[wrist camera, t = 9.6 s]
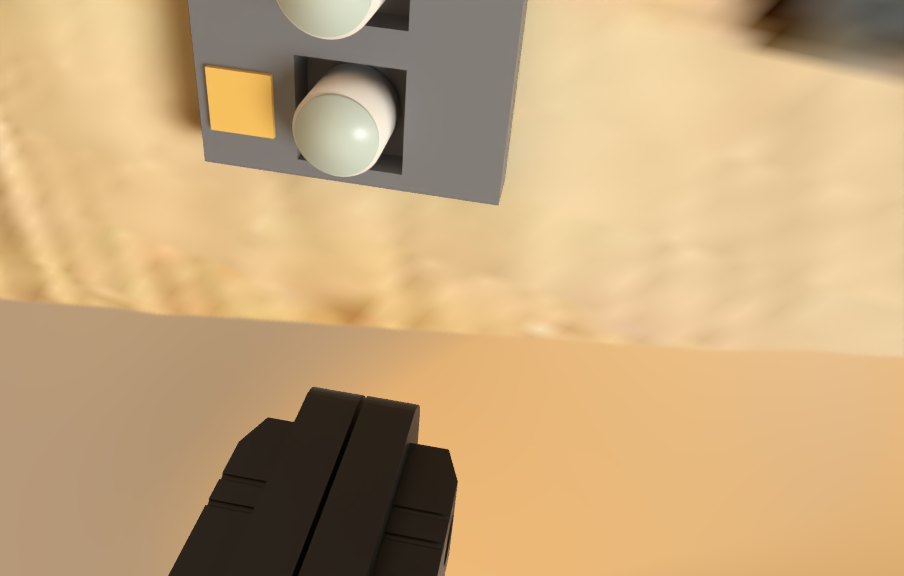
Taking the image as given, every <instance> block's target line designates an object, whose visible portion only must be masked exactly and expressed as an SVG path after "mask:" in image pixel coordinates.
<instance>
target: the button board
mask: <svg viewBox="0 0 904 576" xmlns="http://www.w3.org/2000/svg"><path fill="white" fill-rule="evenodd" d="M188 7H189V17H190V26H191V35H192V44H193V54H194V63H195V72H196V81H197V91H198V100H199V109H200V118H201V128H202V137H203V146H204V156H205V161H207V162H214V163H220V164H227V165H233V166H240V167H247V168H253V169H260V170H267V171H273V172H280V173H286V174H293V175H300V176H306V177H313V178H320V179H326V180H333V181H339V182H346V183H353V184H359V185H366V186H373V187H379V188H386V189H392V190H399V191H406V192H412V193H419V194H426V195H432V196H439V197H446V198H452V199H459V200H465V201H472V202H479V203H485V204H492V205H499V201H500V197H501V193H502V189H503V185H504V181H505V173H506V165H507V157H508V150H509V142H510V134H511V126H512V118H513V110H514V102H515V95H516V87H517V79H518V71H519V63H520V55H521V47H522V40H523V32H524V24H525V16H526V8H527V0H385V1H384V3H383V4H382V5H381V6H380V8H379V9H378V10H377V11H376V12H375V14H374V15H373V16H372V17H371V18H370V20H369V21H368V22H367V23H366V24H365V25H364V26H363V27H362V28H361V29H360V30H359V31H357V32H356V33H354V34H352V35H351V36H348V37H345V38H341V39H334V40H329V39H321V38H317V37H314V36H311V35H309V34H307V33H305V32H303V31H302V30H300V29H299V28H297V27H296V26H295V25H294V24H293V23H292V22H291V21H290V20H289V19H288V18H287V17H286V16H285V15H284V13H283V12H282V10H281V9H280V7H279V5H278V3H277V1H276V0H188ZM345 63H357V64H364V65H367V66H369V67H371V68H374V69H375V70H377V71H379V72H380V73H381V74H382V75H384V76H385V77H386V78H387V79H388V80H389V82H390V83H391V84H392V86H393V88H394V89H395V91H396V94H397V96H398V100H399V105H400V114H399V119H398V123H397V125H396V127H395V129H394V131H393V133H392V135H391V136H390V138H389V140H388V142H387V144H386V145H385V147H384V149H383V151H382V153H381V155H380V156H379V158H378V160H377V161H376V163H375V164H374V165H373V166H372V167H371V168H370V169H368V170H367V171H365V172H363V173H361V174H359V175H355V176H350V177H340V176H334V175H330V174H327V173H325V172H323V171H320V170H319V169H317V168H316V167H314V166H313V165H312V164H310V163H309V162H308V161H307V160H306V159H305V158H304V156H303V155H302V154H301V152H300V151H299V149H298V147H297V145H296V143H295V140H294V136H293V130H292V122H293V117H294V114H295V111H296V109H297V107H298V106H299V104H300V103H301V102H302V101H303V99H304V98H305V97H306V96H307V94H308V93H309V92H310V91H311V90H312V88H313V87H314V86H315V85H316V84H317V82H318V81H319V80H320V79H321V78H322V76H323V75H324V74H325V73H326V72H327V71H329V70H330V69H331V68H333V67H335V66H338V65H340V64H345Z"/></svg>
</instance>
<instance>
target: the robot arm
mask: <svg viewBox="0 0 904 576" xmlns="http://www.w3.org/2000/svg"><path fill="white" fill-rule="evenodd" d="M419 417H420V406H419V405H416V404H410V403H404V402H399V401H393V400H388V399H382V398H376V397H370V396H367V398H365V396H363V395H358V394H352V393H346V392H340V391H334V390H329V389H323V388H317V387H312V388H311V389H310V391H309V392H308V394H307V396H306V398H305V400H304V402H303V404H302V406H301V409H300V411H299V413H298V415H297V417H296V419H295V421H294V422H290V421H285V420H279V419H274V418H267V419H265V420H264V421H263V422H262V423H261V424H259V425H258V426H257V427H256V428H255V429H254V430H252V431H251V432H250V433H249V434H248V435H246V436H245V437H244V438H243V439H242V440H241V441H239V443H238V445H237V446H236V448H235V450H234V452H233V454H232V456H231V458H230V460H229V462H228V464H227V465H226V467H225V469H224V471H223V475H222V478H221V479H219V481H218V483H217V484H216V486H215V488H214V490H213V492H212V494H211V496H210V498H209V503H208V505H205V507H204V509H203V511H202V513H201V515H200V517H199V519H198V520H197V523H196V524H195V526H194V528H193V530H192V532H191V534H190V536H189V538H188V539H187V541H186V543H185V545H184V547H183V549H182V551H181V553H180V555H179V557H178V558H177V560H176V562H175V564H174V566H173V568H172V570H171V572H170V574H169V576H444V575H445V571H446V566H447V561H448V556H449V550H450V542H451V533H452V525H453V517H454V508H455V500H456V491H457V483H458V481H457V478H456V474H455V471H454V467H453V463H452V460H451V456H450V453H449V450H448V449H442V448H437V447H431V446H426V445H420V444H418V431H419Z"/></svg>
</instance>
